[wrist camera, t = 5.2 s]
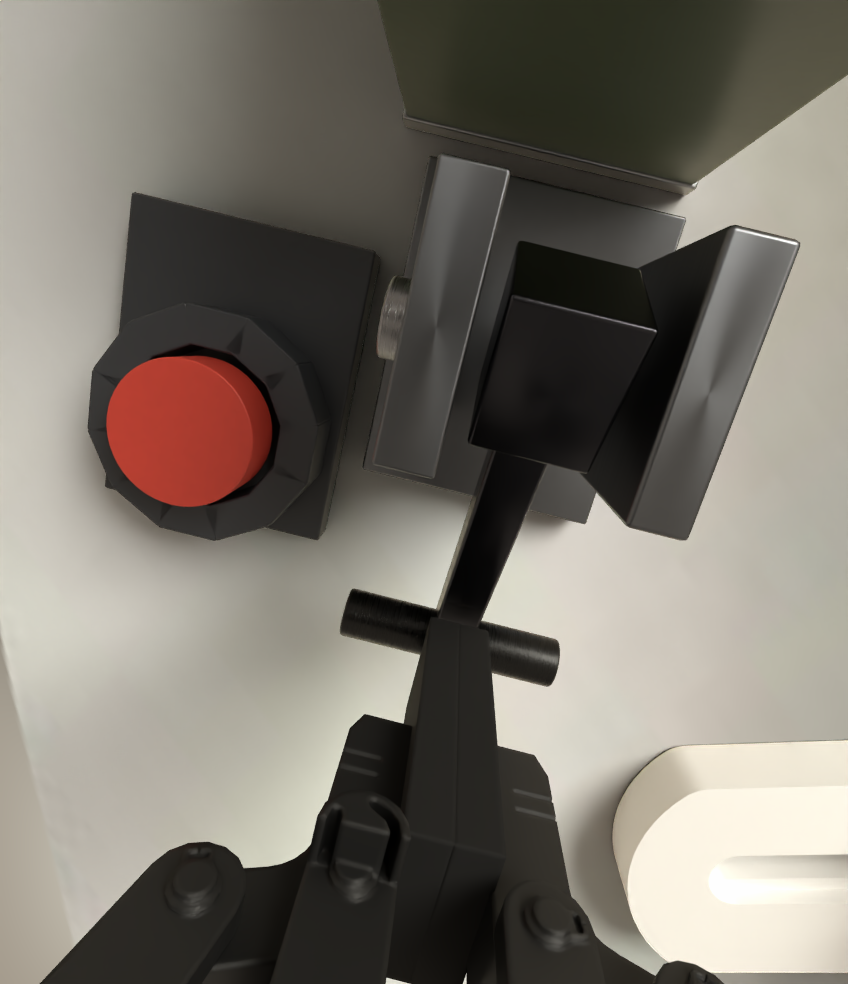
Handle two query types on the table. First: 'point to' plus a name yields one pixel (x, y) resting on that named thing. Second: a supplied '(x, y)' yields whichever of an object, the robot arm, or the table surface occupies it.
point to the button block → (244, 351)
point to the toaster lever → (528, 436)
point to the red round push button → (188, 429)
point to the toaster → (614, 77)
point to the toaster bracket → (659, 384)
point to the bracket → (740, 856)
